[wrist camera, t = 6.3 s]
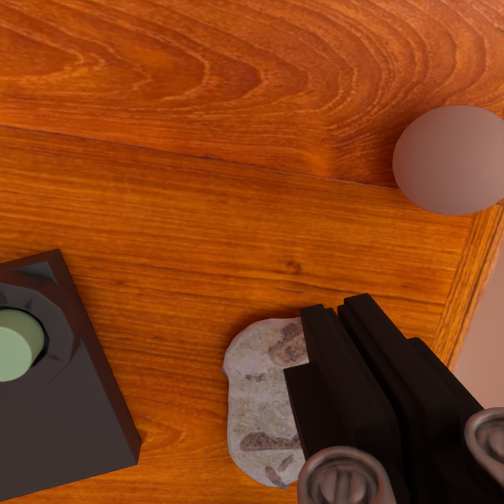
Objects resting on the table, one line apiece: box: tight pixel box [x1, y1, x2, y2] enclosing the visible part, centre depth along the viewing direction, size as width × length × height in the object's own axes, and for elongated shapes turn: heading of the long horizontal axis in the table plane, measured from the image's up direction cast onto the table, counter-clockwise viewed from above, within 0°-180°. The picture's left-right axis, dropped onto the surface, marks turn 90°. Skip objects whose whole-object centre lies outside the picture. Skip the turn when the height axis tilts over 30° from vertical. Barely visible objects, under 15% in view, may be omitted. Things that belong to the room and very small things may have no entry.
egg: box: [393, 105, 504, 216], centre depth 20 cm, size 5×5×7 cm
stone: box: [222, 317, 309, 490], centre depth 26 cm, size 12×9×3 cm
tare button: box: [0, 309, 45, 382], centre depth 20 cm, size 3×3×2 cm
